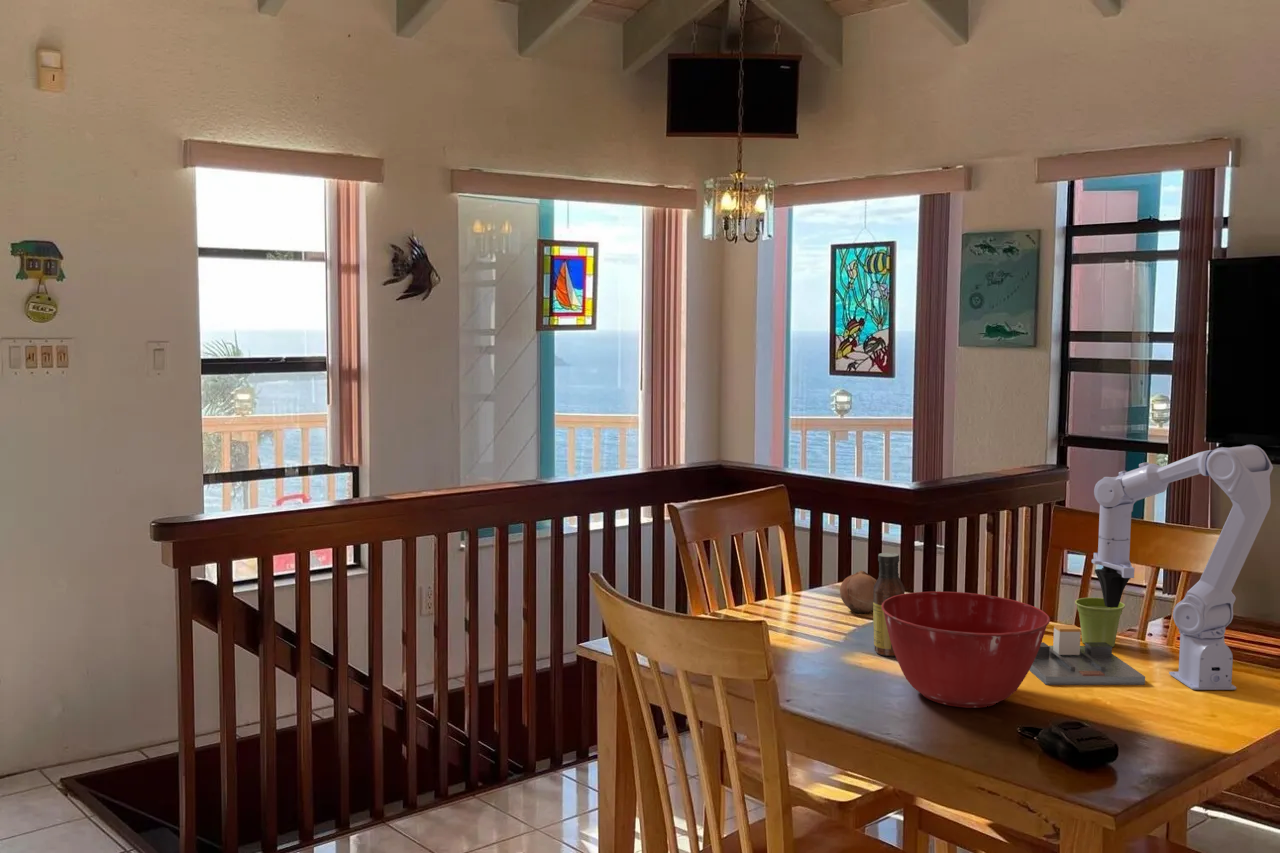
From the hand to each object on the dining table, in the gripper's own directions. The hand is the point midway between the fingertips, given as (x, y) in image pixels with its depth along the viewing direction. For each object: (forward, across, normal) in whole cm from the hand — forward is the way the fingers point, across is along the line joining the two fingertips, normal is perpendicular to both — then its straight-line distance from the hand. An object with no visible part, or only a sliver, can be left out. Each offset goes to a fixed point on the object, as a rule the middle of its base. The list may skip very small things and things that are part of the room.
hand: (1111, 606), depth 228 cm
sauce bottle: (+10, -2, -43) cm, 44 cm away
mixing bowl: (+10, +24, -36) cm, 44 cm away
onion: (+10, -35, -42) cm, 56 cm away
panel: (+10, +8, -10) cm, 16 cm away
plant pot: (+10, -8, +1) cm, 13 cm away
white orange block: (+8, +4, -10) cm, 13 cm away
